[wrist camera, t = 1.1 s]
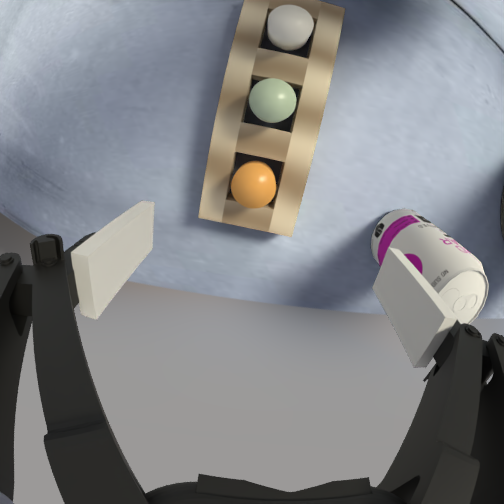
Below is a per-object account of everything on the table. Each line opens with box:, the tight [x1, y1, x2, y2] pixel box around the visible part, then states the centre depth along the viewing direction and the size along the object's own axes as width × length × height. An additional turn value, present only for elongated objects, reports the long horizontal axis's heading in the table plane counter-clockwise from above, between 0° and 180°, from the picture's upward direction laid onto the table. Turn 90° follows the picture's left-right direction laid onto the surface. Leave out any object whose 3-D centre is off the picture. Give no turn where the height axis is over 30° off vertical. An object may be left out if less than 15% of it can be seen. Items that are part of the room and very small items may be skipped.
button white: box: [268, 5, 314, 50], centre depth 19 cm, size 4×4×4 cm
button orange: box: [231, 161, 276, 209], centre depth 26 cm, size 4×4×4 cm
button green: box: [249, 78, 296, 123], centre depth 23 cm, size 4×4×4 cm
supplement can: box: [371, 208, 489, 325], centre depth 25 cm, size 8×8×15 cm
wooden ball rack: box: [198, 0, 345, 237], centre depth 25 cm, size 26×10×3 cm, turn 168°
